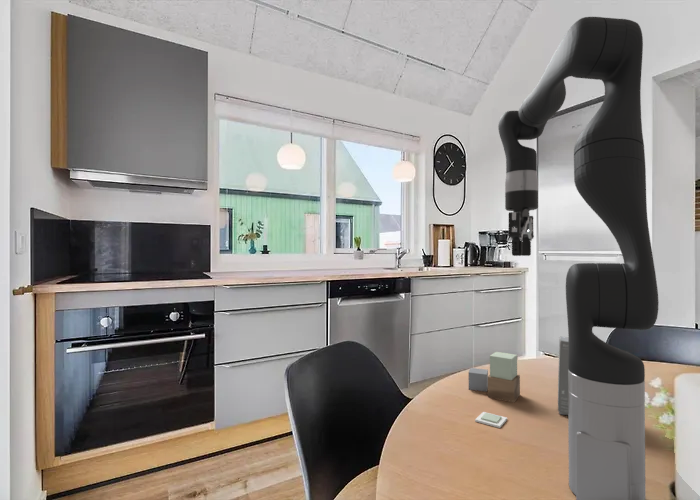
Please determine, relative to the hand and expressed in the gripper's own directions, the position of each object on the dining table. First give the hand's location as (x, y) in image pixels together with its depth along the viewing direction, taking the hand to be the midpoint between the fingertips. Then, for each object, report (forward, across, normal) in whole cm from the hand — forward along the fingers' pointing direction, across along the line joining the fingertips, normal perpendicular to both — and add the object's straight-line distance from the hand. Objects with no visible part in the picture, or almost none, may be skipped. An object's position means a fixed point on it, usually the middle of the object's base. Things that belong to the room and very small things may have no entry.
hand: (521, 255), depth 97 cm
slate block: (+34, -3, +10) cm, 36 cm away
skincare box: (+34, -5, -13) cm, 37 cm away
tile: (+34, -21, +1) cm, 40 cm away
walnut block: (+34, -5, +3) cm, 35 cm away
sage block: (+29, -5, +3) cm, 30 cm away
